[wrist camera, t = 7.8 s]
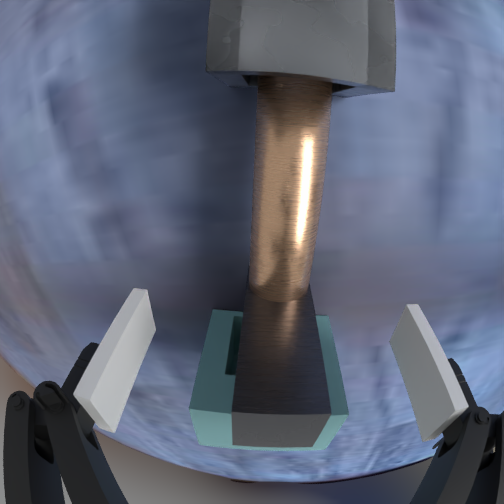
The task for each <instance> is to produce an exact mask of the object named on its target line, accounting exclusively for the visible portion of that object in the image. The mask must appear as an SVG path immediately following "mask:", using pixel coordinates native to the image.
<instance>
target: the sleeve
mask: <svg viewBox="0 0 504 504" xmlns="http://www.w3.org/2000/svg"><path fill="white" fill-rule="evenodd" d="M206 72H208V73H209V74H211V75H212V76H214V77H216V78H217V79H219V80H220V81H222V82H223V83H225V84H226V85H228V86H229V87H249V88H258V75H264V76H280V77H292V78H302V79H311V80H318V81H326V82H332V83H333V85H332V95H336V96H342V97H353V96H360V95H367V94H375V93H385V92H395V74H396V22H395V4H394V0H210V10H209V23H208V37H207V54H206Z"/></svg>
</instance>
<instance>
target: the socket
mask: <svg viewBox="0 0 504 504" xmlns="http://www.w3.org/2000/svg"><path fill="white" fill-rule="evenodd" d="M242 318H243V312H240V311H226V310H214V309H213V311H212V315H211V319H210V323H209V327H208V331H207V335H206V339H205V343H204V347H203V351H202V355H201V359H200V363H199V367H198V371H197V376H196V380H195V384H194V388H193V393H192V397H191V401H190V406H189V411H190V415H191V418H192V422H193V425H194V429H195V432H196V436H197V439H198V442H199V445H206V446H214V447H223V448H233V449H246V450H266V451H305V450H325V449H326V448H327V446H328V445H329V443H330V442H331V441H332V439H333V438H334V436H335V435H336V433H337V432H338V430H339V429H340V427H341V426H342V424H343V423H344V421H345V420H346V418H347V417H348V415H349V413H348V407H347V402H346V396H345V391H344V386H343V381H342V376H341V371H340V366H339V362H338V357H337V352H336V348H335V343H334V339H333V334H332V330H331V326H330V322H329V317H328V316H320V315H316V321H317V326H318V331H319V337H320V343H321V348H322V354H323V360H324V366H325V372H326V379H327V385H328V392H329V399H330V406H331V413H332V414H331V416H330V418H329V419H328V421H327V423H326V425H325V427H324V428H323V430H322V432H321V434H320V435H319V437H318V439H317V440H316V442H315V444H314V445H313V447H295V448H277V447H250V446H236V445H232V417H231V411H232V402H233V394H234V385H235V377H236V368H237V360H238V352H239V343H240V335H241V326H242Z"/></svg>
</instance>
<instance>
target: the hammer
mask: <svg viewBox="0 0 504 504" xmlns="http://www.w3.org/2000/svg"><path fill="white" fill-rule="evenodd" d="M332 85H333V83H332V82H326V81H318V80H311V79H302V78H292V77H280V76H264V75H258V91H257V113H256V134H255V156H254V178H253V200H252V222H251V244H250V266H249V268H248V277H247V285H246V293H245V301H244V310H243V318H242V326H241V335H240V343H239V352H238V360H237V368H236V377H235V385H234V394H233V402H232V411H231V417H232V445H236V446H250V447H277V448H295V447H313V445H314V444H315V442H316V440H317V439H318V437H319V435H320V434H321V432H322V430H323V428H324V427H325V425H326V423H327V421H328V419H329V418H330V416H331V414H332V413H331V406H330V399H329V392H328V385H327V379H326V372H325V366H324V360H323V354H322V348H321V343H320V337H319V331H318V326H317V321H316V315H315V310H314V305H313V300H312V295H311V290H310V285H309V279H310V273H311V267H312V261H313V255H314V249H315V243H316V236H317V230H318V223H319V216H320V208H321V201H322V193H323V185H324V176H325V168H326V158H327V149H328V138H329V127H330V115H331V101H332Z"/></svg>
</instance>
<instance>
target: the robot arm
mask: <svg viewBox="0 0 504 504" xmlns="http://www.w3.org/2000/svg"><path fill="white" fill-rule="evenodd" d="M155 331H156V327H155V323H154V319H153V314H152V310H151V305H150V301H149V296H148V291H147V290H145V289H137V288H133V290H132V291H131V293H130V295H129V296H128V298H127V299H126V301H125V303H124V304H123V306H122V307H121V309H120V311H119V312H118V314H117V316H116V317H115V319H114V321H113V322H112V324H111V326H110V327H109V329H108V331H107V333H106V334H105V336H104V338H103V339H102V341H101V343H100V344H97V343H93V342H91V343H90V344H89V345H88V346H86V347H85V348H84V349H83V351H82V352H81V354H80V356H79V357H78V360H77V361H76V363H75V364H74V366H73V368H72V370H71V371H70V373H69V375H68V377H67V379H66V380H65V382H64V384H63V386H62V388H60V387H59V385H58V384H56V383H55V382H53V381H44V382H42V383H40V384H39V385H38V386H37V387H36V389H35V391H34V396H33V399H32V398H30V397H29V396H28V395H27V394H26V393H25V392H23V391H16V392H14V393H13V394H11V395H10V397H9V398H8V402H7V407H6V416H5V429H4V450H3V458H4V459H3V462H4V463H3V466H4V488H5V498H6V504H65V500H64V495H63V489H62V481H61V476H62V479H63V482H64V484H65V487H66V490H67V492H68V495H69V497H70V499H71V502H72V504H128V502H127V500H126V498H125V497H124V495H123V493H122V491H121V489H120V487H119V486H118V484H117V482H116V480H115V478H114V476H113V473H112V472H111V469H110V467H109V465H108V463H107V461H106V458H105V456H104V454H103V452H102V449H101V447H100V444H99V442H98V440H97V437H96V435H95V432H94V430H93V425H94V423H96V424H97V426H98V427H99V428H101V429H104V430H107V431H110V432H113V433H115V432H116V429H117V426H118V423H119V420H120V418H121V415H122V412H123V410H124V407H125V404H126V402H127V399H128V397H129V394H130V391H131V389H132V386H133V384H134V381H135V379H136V376H137V374H138V371H139V369H140V366H141V364H142V362H143V359H144V357H145V354H146V352H147V350H148V347H149V345H150V343H151V340H152V338H153V336H154V333H155ZM389 342H390V344H391V347H392V350H393V352H394V355H395V358H396V360H397V363H398V366H399V369H400V371H401V374H402V377H403V380H404V383H405V386H406V389H407V392H408V395H409V398H410V401H411V404H412V407H413V411H414V414H415V417H416V421H417V424H418V428H419V431H420V435H421V438H422V442H424V441H428V440H432V439H435V438H437V437H438V436H439V435H440V434H441V433H443V436H444V437H443V438H442V439H441V440H440V441H438V442H437V443H436V444H435V445H434V446H433V448H432V449H434V448H436V447H437V446H438V445H439V446H438V448H437V450H436V453H435V455H434V457H433V460H432V462H431V464H430V466H429V468H428V470H427V472H426V475H425V476H424V479H423V480H422V482H421V484H420V486H419V488H418V490H417V492H416V493H415V495H414V497H413V499H412V501H411V502H410V504H504V411H503V412H502V413H501V414H500V415H498V414H489V413H488V411H487V410H486V409H484V408H483V407H478V406H477V404H476V402H475V400H474V397H473V395H472V393H471V391H470V388H469V386H468V384H467V382H466V380H465V378H464V375H462V374H463V373H462V371H461V369H460V367H459V365H458V364H457V363H456V362H455V361H454V360H453V359H452V358H450V359H447V357H446V355H445V353H444V351H443V349H442V347H441V345H440V343H439V342H438V340H437V338H436V336H435V334H434V332H433V330H432V328H431V327H430V325H429V323H428V321H427V319H426V318H425V316H424V314H423V312H422V311H421V309H420V307H419V305H418V304H406V306H405V308H404V311H403V313H402V315H401V318H400V320H399V322H398V324H397V327H396V329H395V331H394V333H393V335H392V337H391V339H390V341H389ZM494 447H495V452H494V453H493V448H494Z"/></svg>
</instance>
